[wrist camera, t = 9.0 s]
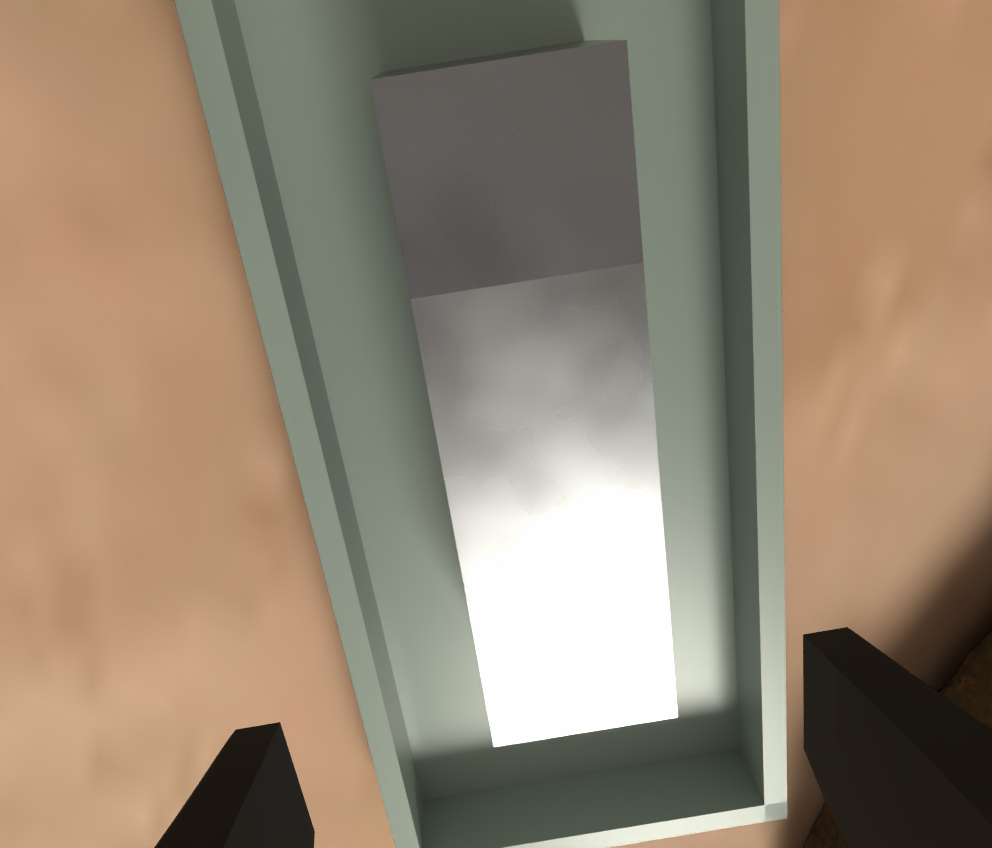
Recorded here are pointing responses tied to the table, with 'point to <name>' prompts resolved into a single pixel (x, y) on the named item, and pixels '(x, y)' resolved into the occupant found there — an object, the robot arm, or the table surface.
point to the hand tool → (974, 688)
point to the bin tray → (409, 423)
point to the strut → (539, 374)
